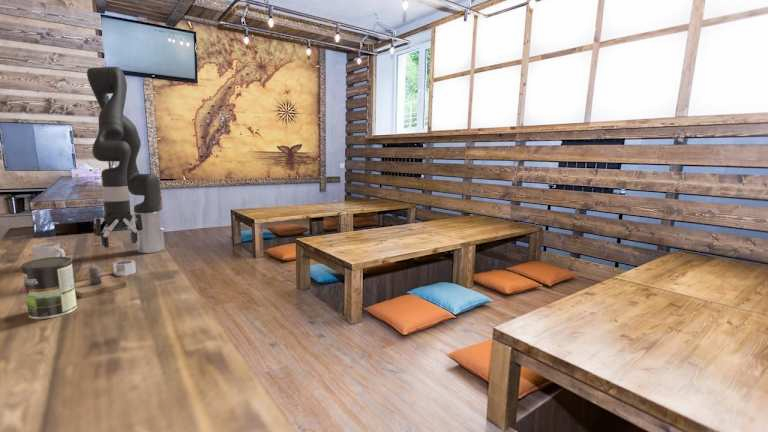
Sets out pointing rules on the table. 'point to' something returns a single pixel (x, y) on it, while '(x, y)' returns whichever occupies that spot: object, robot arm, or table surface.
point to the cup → (47, 250)
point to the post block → (97, 284)
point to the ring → (124, 267)
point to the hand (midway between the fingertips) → (120, 245)
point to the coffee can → (49, 287)
